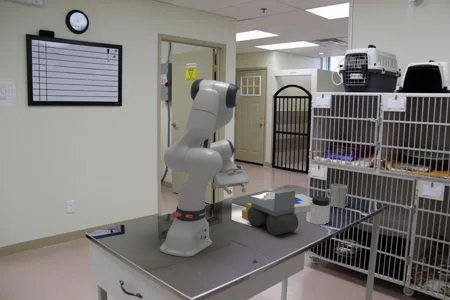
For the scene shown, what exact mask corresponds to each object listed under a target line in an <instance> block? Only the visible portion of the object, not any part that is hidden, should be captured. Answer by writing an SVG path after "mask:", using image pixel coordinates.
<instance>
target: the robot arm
mask: <svg viewBox="0 0 450 300" xmlns="http://www.w3.org/2000/svg"><path fill="white" fill-rule="evenodd" d="M190 98H191V100H192V101H193V103H192V105H191V108H190V112H189V116H188V120H187V123H186V125H185V128H184V131H183V132H182V134H181V135H180V136H179V138H178V139H177V140H176V142H174V143H173V144H172V145H170V146H168V147H167V148H166V150H165V151H164V154H163V162H164V165H165V167H167V168H168V169H171V170H172V171H175V172H179V173H184V174H188V179H187V181H186V182H184V183H182V184H181V185H180V186H179V187H178V189H177V205H176V209H175V211H172V212H173V213H172V217H173V218H174V219H173V221H172V223H171V225H170V227H169V229H168V231H167V233H166V239H165V240H164V241H163V243H162V244H161V245H160V246H159V251H160V252H161V253H164V254H167V255H170V256H171V255H172V256H177V257H187V258H188V257H194V256H195V255H197V254H199V253H200V252H201V251H203V250H205V249H206V248H207V247H209V246H210V245H212V244H213V240H212V239H210V227H209V226H210V225H209V222H208V220H207V219H206V216H207V215H206V214H207V207H206V194H207V193H206V192H207V188H208V185H209V183H210V182H211V180H212V178H213V183H214V186H215V187H216V188H217V189H223V190H224V191H225V192H226V193H227V195H231V194H232V192H233V191H232V190H231V189H229V188H232V187H241V188H242V189H241V192H242V193H246V192H247V189H246V186H247V185H248V184H249V183H250V178H249V176H248V175H247V172H246V171H245V170H243V169H244V167H243V165H239V164H235V163H233V161H232V160H231V158H233V156H234V153H235V147H234V144H233V143H232V141H231V140H229V139H227V138H226V139H221V140H217V141H215V142H212V136H213V134H214V133H216V132H217V131H218V130H220V129H221V128H224V127H225V126H226V125H228V124H230V122H231V121H232V119H233V117H234V108H235V107H237V106H238V104H239V102H240V99H241V90H240V87H239V86H238V85H236V84H234V83H228V82H224V81H219V80H215V79H214V80H213V79H204V78H198V79H195V80H194V81H193V82H192V84H191V88H190Z"/></svg>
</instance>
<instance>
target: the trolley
mask: <svg viewBox="0 0 450 300" xmlns="http://www.w3.org/2000/svg"><path fill="white" fill-rule="evenodd" d="M295 194H296V190H295V189H290V190H289V189H288V190H285V191H284V190H283V191H277V193H275V199H274V200H272V199H267V200H262V201H261V200H257V201H253V202H250V203H251V207H250V208H249V210H248V214H247V215H248V220H249V221H248V220H247V221H248V222H249V224H250V225H251V226H253V227H258V226H263V225H266V230H267V231H268V232H269V234H270V235H271V236H276V237H277V236H280V235H283V234H287V233H290V232H294V231H296V230H297V229H298V228H299V227H298V226H299V219H298V216H297V214H296V213H294V212H295V208H294V204H295Z"/></svg>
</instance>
